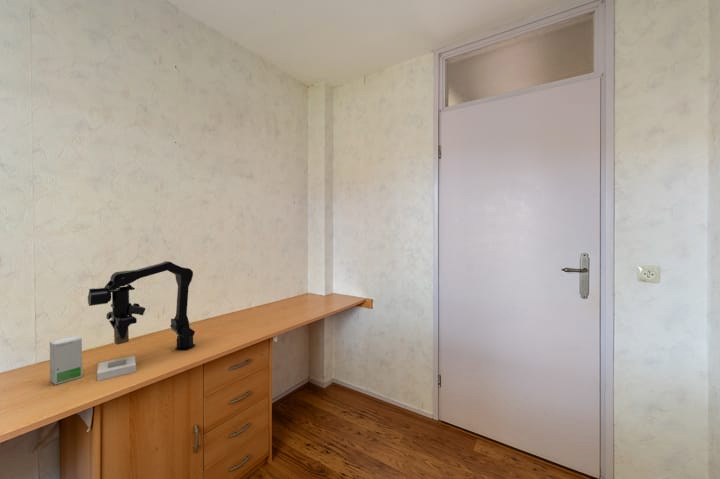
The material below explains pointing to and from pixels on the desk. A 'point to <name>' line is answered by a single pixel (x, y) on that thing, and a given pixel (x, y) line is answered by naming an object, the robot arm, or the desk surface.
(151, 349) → the desk surface
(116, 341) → the peg
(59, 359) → the skincare box
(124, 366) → the socket
